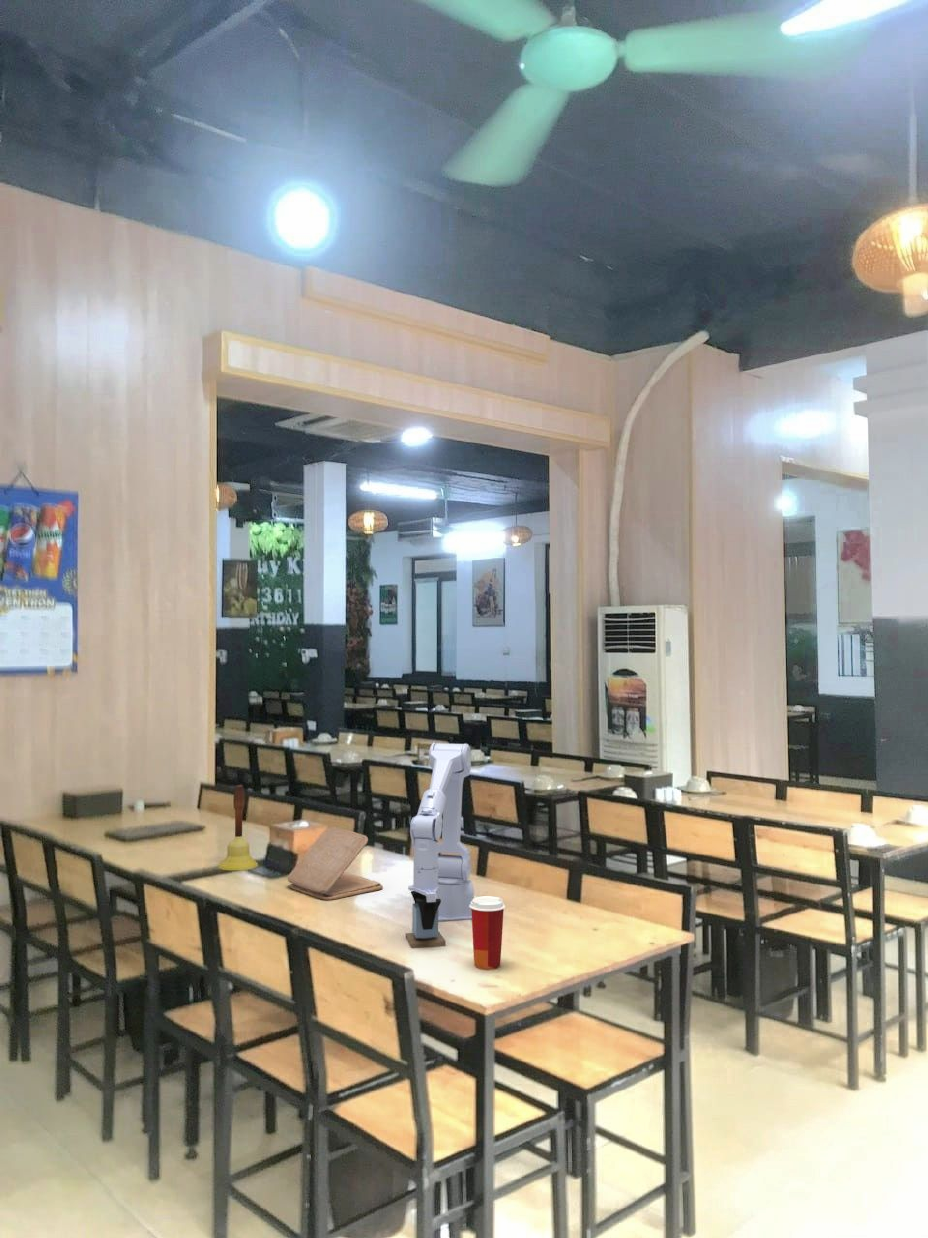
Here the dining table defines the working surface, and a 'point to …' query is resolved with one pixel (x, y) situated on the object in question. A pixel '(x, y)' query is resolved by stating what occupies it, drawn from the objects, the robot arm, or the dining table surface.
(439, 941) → the board
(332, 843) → the case
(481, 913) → the paper cup
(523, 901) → the dining table surface
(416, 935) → the blue-grey block
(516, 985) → the dining table surface
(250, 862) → the handbell
